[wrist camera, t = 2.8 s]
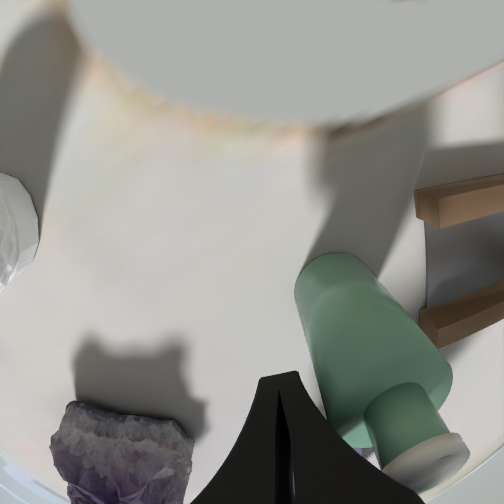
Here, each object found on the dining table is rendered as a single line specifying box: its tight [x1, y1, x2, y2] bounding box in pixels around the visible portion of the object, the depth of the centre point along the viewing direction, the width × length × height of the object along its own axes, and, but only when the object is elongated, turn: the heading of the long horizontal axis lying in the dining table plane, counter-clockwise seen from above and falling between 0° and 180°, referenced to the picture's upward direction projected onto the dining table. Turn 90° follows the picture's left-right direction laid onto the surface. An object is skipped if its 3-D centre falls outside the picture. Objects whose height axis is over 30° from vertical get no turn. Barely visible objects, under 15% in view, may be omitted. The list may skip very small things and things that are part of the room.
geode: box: [50, 401, 194, 504], centre depth 18 cm, size 20×12×10 cm, turn 159°
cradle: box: [414, 173, 504, 349], centre depth 15 cm, size 9×10×2 cm
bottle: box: [294, 252, 470, 496], centre depth 11 cm, size 4×4×12 cm
